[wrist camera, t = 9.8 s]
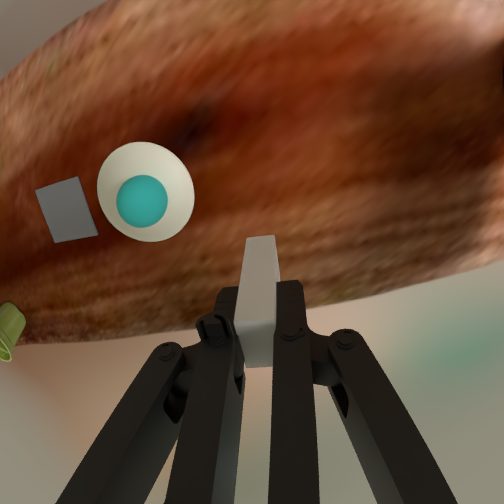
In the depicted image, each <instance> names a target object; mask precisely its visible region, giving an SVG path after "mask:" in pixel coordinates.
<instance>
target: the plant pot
mask: <svg viewBox="0 0 504 504" xmlns="http://www.w3.org/2000/svg"><path fill="white" fill-rule="evenodd" d="M25 325H26V320H25V317H24V315H23V314H22V313H21V312H20V311H19V310H18V309H17V307H16V306H15V305H13V304H12V303H9V302H6V303H4V304H3V305H2V306H1V307H0V359H1V360H3V361H5V362H10V361H11V359H12V353H13V348H14V346H15V344H16V342H17V340H18V338H19V336H20V334H21V333H22V331H23V329H24V327H25Z"/></svg>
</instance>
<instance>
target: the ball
mask: <svg viewBox="0 0 504 504" xmlns="http://www.w3.org/2000/svg"><path fill="white" fill-rule="evenodd" d="M167 205H168V196H167V192H166V190H165V188H164V186H163V185H162V183H161V182H160V181H159V180H157V179H156V178H154V177H152V176H148V175H137V176H134V177H131V178H130V179H128V180H127V181H125V182H124V183H123V185H122V186H121V187H120V189H119V191H118V194H117V198H116V206H117V210H118V213H119V215H120V217H121V218H122V219H123V220H124V221H125V222H126V223H127V224H129V225H131V226H133V227H137V228H145V227H149V226H152V225H154V224H156V223H157V222H158V221H159V220H160V219H161V218H162V217H163V215H164V214H165V212H166V209H167Z"/></svg>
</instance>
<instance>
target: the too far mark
mask: <svg viewBox="0 0 504 504" xmlns="http://www.w3.org/2000/svg"><path fill="white" fill-rule="evenodd" d="M35 192H36V195H37V198H38V201H39V204H40V206H41V209H42V212H43V214H44V217H45V220H46V222H47V225H48V227H49V230H50V232H51V235H52V237H53V239H54V242H55V243H57V242H63V241H68V240H74V239H79V238H85V237H91V236H96V235H98V232H97V229H96V227H95V224H94V221H93V219H92V216H91V213H90V210H89V207H88V204H87V201H86V199H85V196H84V193H83V189H82V186H81V183H80V180H79V177H78V176H76V177H73V178H70V179H67V180H64V181H61V182H58V183H55V184H52V185H49V186H46V187H43V188H40V189H37V190H35Z"/></svg>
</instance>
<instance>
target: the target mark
mask: <svg viewBox="0 0 504 504" xmlns="http://www.w3.org/2000/svg"><path fill="white" fill-rule="evenodd" d="M137 175H148V176H152V177H154V178H156V179H157V180H159V181H160V182H161V183H162V185H163V186H164V188H165V190H166V192H167V196H168V205H167V209H166V212H165V214H164V215H163V217H162V218H161V219H160V220H159V221H158V222H157V223H156V224H154V225H152V226H149V227H145V228H137V227H133V226H131V225H129V224H127V223H126V222H125V221H124V220H123V219H122V218H121V217H120V215H119V213H118V210H117V206H116V198H117V194H118V191H119V189H120V187H121V186H122V185H123V183H124V182H125V181H127V180H128V179H130V178H131V177H134V176H137ZM97 193H98V199H99V203H100V205H101V208H102V210H103V212H104V214H105V216H106V217H107V219H108V220H109V221H110V222H111V224H112V225H113V226H114V227H115V228H117V229H118V230H119V231H120V232H122V233H123V234H125V235H127V236H129V237H131V238H133V239H136V240H140V241H146V242H156V241H161V240H165V239H168V238H170V237H172V236H174V235H175V234H177V233H178V232H179V231H180V230H181V229H182V228H183V227H184V226H185V225H186V223H187V221H188V220H189V218H190V216H191V213H192V210H193V206H194V188H193V183H192V180H191V177H190V175H189V172H188V171H187V169H186V167H185V166H184V164H183V163H182V162H181V161H180V159H179V158H178V157H177V156H176V155H174V154H173V153H172V152H170V151H169V150H167V149H166V148H164V147H162V146H159V145H157V144H153V143H149V142H134V143H129V144H126V145H123V146H122V147H120V148H118V149H116V150H115V151H114V152H112V153H111V154H110V155H109V156H108V157H107V159H106V160H105V161H104V163H103V165H102V167H101V169H100V172H99V175H98V181H97Z"/></svg>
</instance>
